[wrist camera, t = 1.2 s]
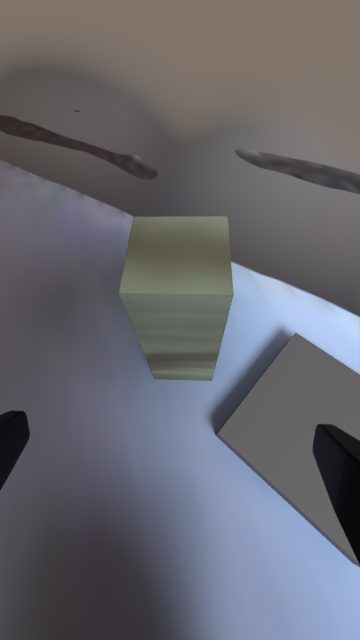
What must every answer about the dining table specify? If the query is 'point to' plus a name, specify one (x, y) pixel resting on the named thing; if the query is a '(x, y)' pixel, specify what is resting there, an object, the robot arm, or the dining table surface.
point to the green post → (178, 292)
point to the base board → (297, 429)
